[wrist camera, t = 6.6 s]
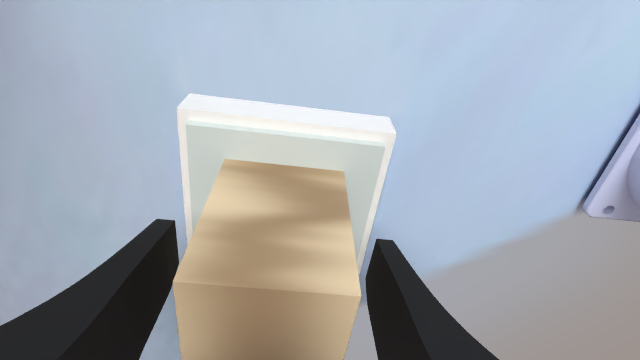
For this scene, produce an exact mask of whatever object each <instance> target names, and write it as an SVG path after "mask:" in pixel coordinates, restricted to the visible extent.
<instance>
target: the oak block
mask: <svg viewBox="0 0 640 360" xmlns="http://www.w3.org/2000/svg"><path fill="white" fill-rule="evenodd" d="M173 289H174V298H175V307H176V316H177V325H178V334H179V343H180V351H181V360H344V357H345V353H346V350H347V346H348V343H349V339H350V335H351V332H352V328H353V325H354V321H355V318H356V314H357V310H358V307H359V303H360V300H361V290H360V283H359V276H358V269H357V261H356V254H355V247H354V240H353V233H352V226H351V219H350V211H349V204H348V197H347V190H346V183H345V176H344V171H336V170H327V169H317V168H308V167H298V166H289V165H279V164H270V163H260V162H251V161H241V160H232V159H224V161H223V164H222V166H221V169H220V171H219V173H218V176H217V178H216V180H215V183H214V185H213V188H212V190H211V192H210V195H209V197H208V199H207V202H206V204H205V206H204V209H203V211H202V214H201V216H200V218H199V221H198V223H197V225H196V228H195V230H194V232H193V235H192V237H191V240H190V242H189V244H188V247H187V249H186V251H185V254H184V256H183V259H182V261H181V263H180V266H179V268H178V270H177V273H176V275H175V277H174V280H173Z"/></svg>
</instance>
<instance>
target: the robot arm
mask: <svg viewBox="0 0 640 360" xmlns="http://www.w3.org/2000/svg"><path fill="white" fill-rule="evenodd" d="M605 207H606V208H605ZM582 208H583V211H584V212H585V213H586V214H587V215H588V216H590V217H597V218H607V219H617V220H627V221H637V222H640V114H639V116H638V117H637V119H636V121H635V122H634V124H633V125H632V127H631V129H630V130H629V132H628V133H627V135H626V137H625V138H624V140H623V141H622V143H621V145H620V146H619V148H618V149H617V151H616V153H615V154H614V156H613V157H612V159H611V161H610V162H609V164H608V165H607V167H606V169H605V170H604V172H603V173H602V175H601V177H600V178H599V180H598V182H597V183H596V185H595V186H594V188H593V190H592V191H591V193H590V194H589V196H588V198H587V199H586V201H585V202H584V204H583V207H582ZM604 208H605V209H604ZM178 265H179V258H178V248H177V237H176V227H175V221H174V220H163V219H156V220H155V221H154V222H153V223H151V224H150V225H149V226H148V227H147V228H145V229H144V230H143V231H142V232H141V233H140V234H138V235H137V236H136V237H135V238H134V239H133V240H131V241H130V242H129V243H128V244H127V245H125V246H124V247H123V248H122V249H120V250H119V251H118V252H117V253H116V254H114V255H113V256H112V257H111V258H109V259H108V260H107V261H105V262H104V263H103V264H101V265H100V266H99V267H97V268H96V269H95V270H93V271H92V272H91V273H89V274H88V275H87V276H85V277H84V278H82V279H81V280H79V281H78V282H76V283H75V284H73V285H72V286H70V287H69V288H67V289H66V290H64V291H63V292H61V293H59V294H58V295H56V296H55V297H53V298H51V299H49V300H48V301H46V302H44V303H42V304H41V305H39V306H37V307H35V308H33V309H32V310H30V311H28V312H26V313H24V314H23V315H21V316H19V317H17V318H15V319H13V320H11V321H9V322H7V323H5V324H3V325H1V326H0V360H139V358H140V356H141V353H142V351H143V348H144V346H145V344H146V342H147V340H148V338H149V336H150V333H151V331H152V329H153V327H154V325H155V323H156V321H157V318H158V316H159V314H160V312H161V310H162V308H163V305H164V303H165V301H166V299H167V297H168V294H169V292H170V290H171V287H172V284H173V280H174V277H175V275H176V271H177V268H178ZM366 293H367V305H368V310H369V315H370V321H371V326H372V330H373V336H374V341H375V346H376V351H377V355H378V360H499V359H498V358H496V357H495V356H494V355H493V354H492V353H490V352H489V351H488V350H487V349H486V348H485V347H484V346H482V345H481V344H480V343H479V342H478V341H477V340H476V339H474V338H473V337H472V336H471V335H470V334H469V333H468V332H467V331H466V330H465V329H464V328H463V327H462V326H461V325H460V324H459V323H458V322H457V321H456V320H455V319H454V318H453V317H452V316H451V315H450V314H449V313H448V312H447V311H446V310H445V309H444V307H443V306H442V305H441V304H440V303H439V302H438V300H437V299H436V298H435V297H434V296H433V295H432V293H431V292H430V291H429V289H428V288H427V287H426V286H425V284H424V283H423V282H422V280H421V279H420V278H419V276H418V275H417V274H416V272H415V271H414V270H413V268H412V267H411V266H410V264H409V263H408V261H407V260H406V258H405V257H404V256H403V254H402V253H401V251H400V250H399V248H398V247H397V245H396V244H395V243H394V241H393V240H383V239H376V243H375V246H374V250H373V253H372V257H371V261H370V264H369V268H368V271H367V275H366Z"/></svg>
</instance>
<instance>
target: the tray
mask: <svg viewBox="0 0 640 360" xmlns="http://www.w3.org/2000/svg"><path fill="white" fill-rule="evenodd" d="M177 118H178V131H179V144H180V158H181V171H182V184H183V197H184V210H185V223H186V236H187V247H188V244H189V242H190V240H191V237H192V235H193V232H194V230H195V228H196V225H197V223H198V221H199V218H200V216H201V214H202V211H203V209H204V206H205V204H206V202H207V199H208V197H209V195H210V192H211V190H212V188H213V185H214V183H215V180H216V178H217V176H218V173H219V171H220V169H221V166H222V164H223V161H224V159H232V160H241V161H251V162H260V163H270V164H279V165H289V166H298V167H308V168H317V169H327V170H336V171H344V176H345V183H346V190H347V197H348V204H349V211H350V219H351V226H352V233H353V240H354V247H355V254H356V261H357V269H358V276H359V275H360V271H361V267H362V263H363V259H364V256H365V252H366V248H367V244H368V240H369V237H370V233H371V229H372V225H373V221H374V218H375V214H376V210H377V206H378V202H379V199H380V195H381V191H382V187H383V183H384V180H385V176H386V172H387V168H388V164H389V161H390V157H391V153H392V149H393V145H394V142H395V138H396V131H395V129H394V127H393V125H392V123H391V120H390V118H389V117H384V116H375V115H367V114H358V113H350V112H342V111H333V110H325V109H316V108H308V107H300V106H291V105H283V104H274V103H266V102H258V101H249V100H241V99H232V98H224V97H216V96H207V95H199V94H190V93H189V95H188V96H187V97H186V98H185V99H184V100H183V102H182V103H181V104H180V105H179V106H178V107H177Z"/></svg>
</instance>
